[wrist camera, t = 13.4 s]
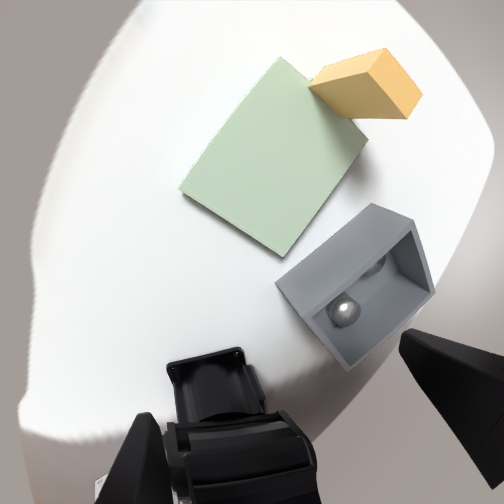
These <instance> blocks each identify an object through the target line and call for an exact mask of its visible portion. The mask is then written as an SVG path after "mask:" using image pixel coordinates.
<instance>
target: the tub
mask: <svg viewBox="0 0 504 504" xmlns="http://www.w3.org/2000/svg"><path fill="white" fill-rule="evenodd" d="M385 254H386V261H385V264H384V266H383V268H382V269H381V270H380V271H379V272H378V273H377V274H375V275H366V274H365V272H366V271H367V270H368V269H369V268H371V267H372V266H373V265H374V264H375V263H376V262H377V261H378V260H379V259H381V258H382V257H383V256H384V255H385ZM275 283H276V285H277V286H278V287H279V289H280V290H281V291H282V292H283V294H284V295H285V296H286V298H287V299H288V300H289V302H290V303H291V304H292V306H293V307H294V308H295V310H296V311H297V312H298V314H299V315H300V316H301V318H302V319H303V320H304V321H305V323H306V324H307V325H308V326H309V327H310V329H311V330H312V331H313V332H314V334H315V335H316V336H317V337H318V338H319V340H320V341H321V342H322V343H323V345H324V346H325V347H326V348H327V349H328V351H329V352H330V353H331V354H332V356H333V357H334V358H335V359H336V360H337V362H338V363H339V364H340V365H341V366H342V368H343V369H344V370H345V371H346V373H348V372H349V371H350V370H352V369H353V368H354V367H355V366H357V365H358V364H359V363H360V362H361V361H363V360H364V359H365V358H366V357H367V356H369V355H370V354H371V353H372V352H373V351H375V350H376V349H377V348H378V347H379V346H380V345H382V344H383V343H384V342H385V341H386V340H387V339H388V338H389V337H391V336H392V335H393V334H394V333H395V332H396V331H397V330H398V329H399V328H400V327H401V326H402V325H404V324H405V323H406V322H407V321H408V320H409V319H410V318H411V317H412V316H413V315H414V314H415V313H416V312H417V311H418V310H419V309H420V308H421V307H422V306H423V305H424V304H425V303H426V302H427V301H428V300H429V299H430V298H431V297H432V296H433V295H434V294H435V289H434V285H433V282H432V278H431V274H430V271H429V267H428V263H427V260H426V257H425V253H424V250H423V247H422V244H421V241H420V237H419V234H418V231H417V229H416V226H415V223H414V220H412V219H410V218H408V217H405V216H403V215H400V214H398V213H396V212H393V211H391V210H388V209H386V208H383V207H381V206H378V205H375V204H373V203H371V204H370V205H368V206H367V207H366V208H365V209H364V210H363V211H361V212H360V213H359V214H358V215H357V216H356V217H354V218H353V219H352V220H351V221H350V222H348V223H347V224H346V225H345V226H344V227H343V228H341V229H340V230H339V231H338V232H337V233H335V234H334V235H333V236H332V237H331V238H329V239H328V240H327V241H326V242H324V243H323V244H322V245H321V246H320V247H318V248H317V249H316V250H315V251H314V252H312V253H311V254H310V255H309V256H307V257H306V258H305V259H304V260H302V261H301V262H300V263H299V264H298V265H296V266H295V267H294V268H293V269H291V270H290V271H289V272H288V273H286V274H285V275H284V276H283V277H281V278H280V279H279V280H278V281H276V282H275ZM342 292H345V293H347V294H348V295H349V296H350V297H352V298H353V299H354V300H355V301H356V302H357V303H358V304H359V305H360V307H361V313H360V316H359V318H358V319H357V321H356V322H355V323H354V324H352V325H351V326H348V327H344V328H343V327H340V326H338V325H337V324H336V323H335V321H334V320H333V319H332V318H331V317H330V316H329V315H328V314H327V312H326V305H327V304H328V303H330V302H331V301H332V300H333V299H335V298H336V297H337V296H338V295H339V294H341V293H342Z"/></svg>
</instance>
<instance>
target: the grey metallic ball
mask: <svg viewBox="0 0 504 504" xmlns="http://www.w3.org/2000/svg"><path fill="white" fill-rule="evenodd" d="M326 312H327V314H328V315H329V316H330V317H331V318H332V319H333V320H334V321H335V323H336V324H337V325H338V326H340V327H343V328H344V327H348V326H351V325H352V324H354V323H355V322H356V321H357V319H358V318H359V316H360V313H361V307H360V305H359V304H358V303H357V302H356V301H355V300H354V299H353V298H352V297H350V296H349V295H348V294H347V293H345V292H342V293H341V294H339V295H338V296H337V297H336V298H335V299H333V300H332V301H331V302H330V303H328V304H327V305H326Z"/></svg>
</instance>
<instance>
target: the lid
mask: <svg viewBox="0 0 504 504" xmlns="http://www.w3.org/2000/svg"><path fill="white" fill-rule="evenodd" d="M422 95H423V94H422V92H421V91H420V90H419V88H418V87H417V86H416V84H415V83H414V82H413V80H412V79H411V78H410V76H409V75H408V74H407V73H406V71H405V70H404V69H403V68H402V66H401V65H400V64H399V63H398V61H397V60H396V59H395V58H394V57H393V55H392V54H391V53H390V52H389V51H388V50H387V49H386V48H383V49H380V50H376V51H373V52H369V53H366V54H362V55H359V56H356V57H352V58H349V59H346V60H343V61H340V62H337V63H334V64H331V65H328V66H325V67H324V68H323V69H322V70H321V71H320V73H319V74H318V75H317V76H316V77H315V79H313V78H310V79H307V78H305V77H304V76H303V75H302V74H301V73H300V72H299V71H297V70H296V69H295V68H294V67H293V66H291V65H290V64H289V63H288V62H287V61H285V60H284V59H283V58H282V57H279V58H277V59H276V61H275V62H274V63H273V64H272V65H271V66H270V67H269V69H268V70H267V71H266V72H265V73H264V74H263V76H262V77H261V78H260V79H259V80H258V81H257V83H256V84H255V85H254V86H253V87H252V89H251V90H250V91H249V92H248V94H247V95H246V96H245V97H244V98H243V100H242V101H241V102H240V103H239V105H238V106H237V107H236V108H235V110H234V111H233V112H232V114H231V115H230V116H229V117H228V119H227V120H226V121H225V123H224V124H223V125H222V127H221V128H220V129H219V130H218V132H217V133H216V134H215V136H214V137H213V139H212V140H211V141H210V143H209V144H208V145H207V147H206V148H205V149H204V151H203V152H202V154H201V155H200V156H199V158H198V159H197V161H196V162H195V163H194V165H193V166H192V168H191V169H190V171H189V172H188V173H187V175H186V176H185V178H184V179H183V181H182V182H181V184H180V185H179V187H178V189H179V190H180V191H182V192H183V193H185V194H186V195H188V196H190V197H191V198H193V199H194V200H196V201H197V202H199V203H200V204H202V205H204V206H205V207H207V208H208V209H210V210H211V211H213V212H214V213H216V214H217V215H219V216H221V217H222V218H224V219H225V220H227V221H228V222H230V223H231V224H233V225H234V226H236V227H237V228H239V229H241V230H242V231H244V232H245V233H247V234H248V235H250V236H251V237H253V238H254V239H256V240H257V241H259V242H260V243H262V244H264V245H265V246H267V247H268V248H270V249H271V250H273V251H274V252H276V253H277V254H279V255H280V256H282V257H284V256H285V254H286V253H287V252H288V250H289V249H290V248H291V246H292V245H293V244H294V242H295V241H296V240H297V238H298V237H299V236H300V234H301V233H302V232H303V230H304V229H305V228H306V226H307V225H308V223H309V222H310V221H311V219H312V218H313V217H314V215H315V214H316V213H317V211H318V210H319V208H320V207H321V206H322V204H323V203H324V202H325V200H326V199H327V197H328V196H329V195H330V193H331V192H332V191H333V189H334V188H335V186H336V185H337V184H338V182H339V181H340V179H341V178H342V177H343V175H344V174H345V172H346V171H347V170H348V168H349V167H350V165H351V164H352V162H353V161H354V160H355V158H356V157H357V155H358V154H359V153H360V151H361V150H362V148H363V147H364V145H365V144H366V143H367V141H368V140H369V139H368V138H367V137H366V136H365V135H364V134H363V133H362V132H361V131H360V130H359V129H358V128H357V127H356V126H355V124H354V123H353V122H352V121H351V120H350V119H361V118H374V119H408V117H409V116H410V114H411V113H412V111H413V109H414V108H415V106H416V105H417V103H418V101H419V100H420V98H421V97H422Z"/></svg>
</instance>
